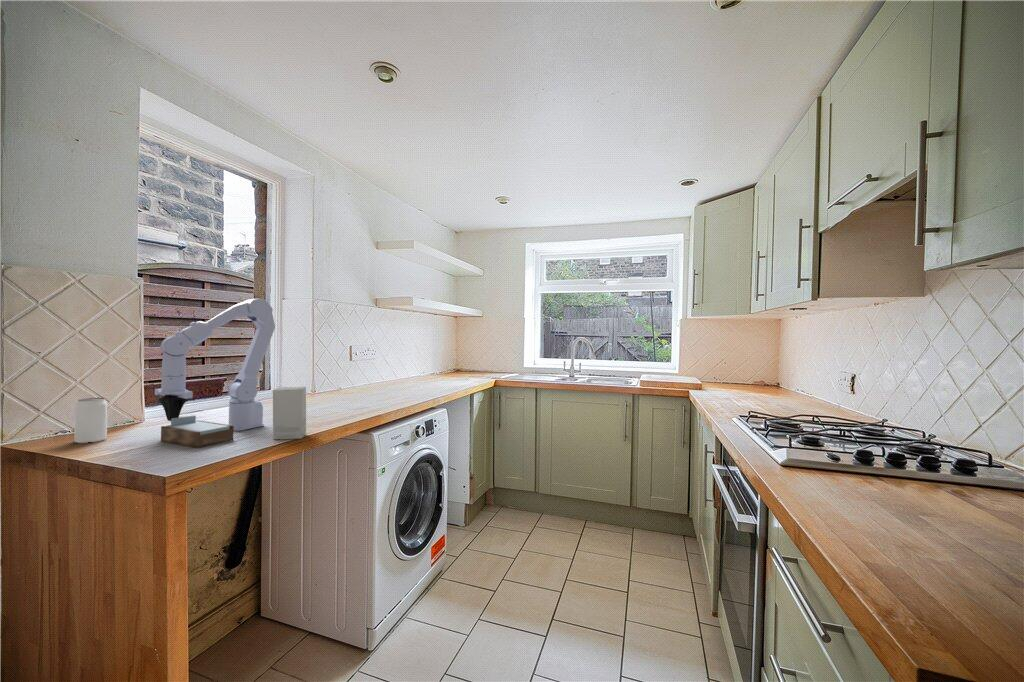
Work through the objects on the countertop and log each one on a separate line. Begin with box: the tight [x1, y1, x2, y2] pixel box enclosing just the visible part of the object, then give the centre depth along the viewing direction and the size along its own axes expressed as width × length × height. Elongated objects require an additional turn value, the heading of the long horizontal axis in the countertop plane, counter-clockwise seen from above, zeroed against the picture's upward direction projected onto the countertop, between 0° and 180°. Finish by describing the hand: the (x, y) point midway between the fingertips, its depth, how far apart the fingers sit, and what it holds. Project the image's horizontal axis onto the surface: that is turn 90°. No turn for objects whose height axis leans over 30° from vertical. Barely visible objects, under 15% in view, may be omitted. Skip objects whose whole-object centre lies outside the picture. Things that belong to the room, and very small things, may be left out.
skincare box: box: [272, 386, 307, 440], centre depth 128 cm, size 8×7×16 cm
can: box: [73, 397, 108, 444], centre depth 117 cm, size 6×6×12 cm
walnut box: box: [160, 419, 235, 449], centre depth 121 cm, size 16×10×4 cm, turn 70°
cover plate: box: [165, 415, 230, 435], centre depth 121 cm, size 15×8×3 cm, turn 70°
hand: (172, 420), depth 125 cm, fingers closed
